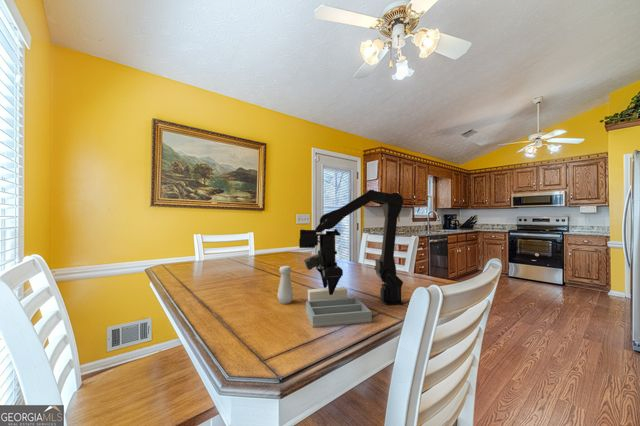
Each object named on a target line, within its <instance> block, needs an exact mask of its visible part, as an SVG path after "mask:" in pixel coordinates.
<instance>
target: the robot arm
mask: <svg viewBox="0 0 640 426" xmlns="http://www.w3.org/2000/svg"><path fill="white" fill-rule="evenodd" d="M368 203H375V204H376V205H377V204H378V205H381V206H382V211H383V215H384V221H383V222H384V224H383V234H382V245H381V253H380V254H381V255H380V257H379V259H378V258H375V261H374V262H375V265H374V266H375V267H374V271H375V274H376V276H377V277H378V278H379V279H380V281H381V282H382V283H381V288H380V297H379V300H380V301H381V302H383V303H384V304H386V305H402V304H404V303H405V302H404V301H403V300H402V287H403V284H404V281H403V280H402V279H401V278H399V276H397V267H396V262H395V257H394V256H395V246H396V236H397V225H398V219H399V216H400V214H401V211H402V208H403V205H404V197H403V196H402V195H401V194H400V193H398V192H392V193H390V192H389V193H388V192H383V191H377V190H374V189H369V190H367V191H365V192H364V193H363V194H361V195H359V196H358V197H357V198H355V199H353V200H351V201H349V202H347V203H346V204H344V205H343V206H342V207H340V208H337V209H335V210H333V211H329V212H327V213H324V214H322V215H321V216H320V218H319V224H318V225H317V226H316V227H315V229H304V228H303V229H300V230H299V239H298V241H299V243H298V245H299V246H298V247H299V249H316V246H318V245H319V249H318V251H317V254H315V255H313V256H309V257H307V258H305V259H304V260H303V261H304V265H305V267H306V269H307V271H310V270H312V269H313V268H315V269H316V270H317V272H318V273H319V275H320V278H321V283H322V286H323V288H328V290H329V295H333V292H334V290H335V288H336V287H337V285H338V283H339V282H340V279H341V278H342V277H343V276H344V269H342V268H341V267H340V266H339V265H338V262H337V261H336V258H337V257H336V255H338V251H337V250H336V237H339V236H341V233H340V232H339V231H338V229H337V228H334V227H336V226H337V225H338V224H339V223H340V222H341V221H342V220H344V218H346V217H347V216H349V215H350V214H352V213H353V212H355V211H357V210H359V209H360V208H362V207H364V206H365V205H367V204H368ZM331 229H334V230H331ZM324 231H325V233H322V232H324Z"/></svg>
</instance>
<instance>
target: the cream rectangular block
mask: <svg viewBox="0 0 640 426" xmlns="http://www.w3.org/2000/svg"><path fill="white" fill-rule="evenodd" d="M348 296H349V295H348V288H346V287H345V286H338V287H337V286H336V288H335V290H334V292H333V295H329V290H328V287H327V288H324V287H323V288H313V289H312V288H311V289H307V301H315V300H329V299H343V298H349V297H348Z"/></svg>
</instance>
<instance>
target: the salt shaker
mask: <svg viewBox="0 0 640 426" xmlns="http://www.w3.org/2000/svg"><path fill="white" fill-rule="evenodd" d="M279 273H280V281H279V284H278V290H277V299H278V302H279V304H283V305H286V304H287V305H288V304H291V303H292V301H293V298H294V292H293V286H292V279H291V274H290V273H292V267H291V266H289V265H283V266H280V267H279Z"/></svg>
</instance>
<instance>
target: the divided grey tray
mask: <svg viewBox="0 0 640 426" xmlns="http://www.w3.org/2000/svg"><path fill="white" fill-rule="evenodd" d="M305 311H306V314H307V316H308V320H309V322H310V324H311V326H312V328H316V327H317V328H319V327H331V326H339V325H350V324H361V323H363V324H364V323H372V314H373V313H372V310H370V309H369V308H368V306H366V305H365V304H364V303H363V302H362V301H361V300H359V299H358V298H357V297H348V298H343V299H329V300H315V301H308V300H306V301H305Z"/></svg>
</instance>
